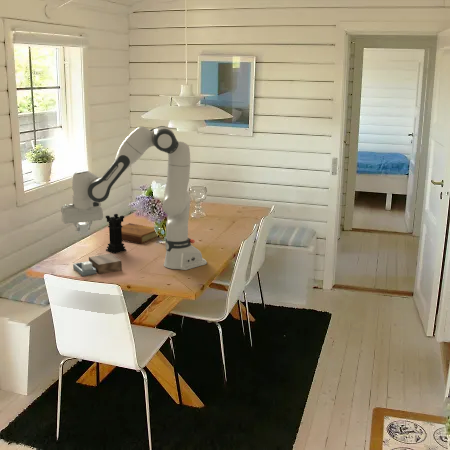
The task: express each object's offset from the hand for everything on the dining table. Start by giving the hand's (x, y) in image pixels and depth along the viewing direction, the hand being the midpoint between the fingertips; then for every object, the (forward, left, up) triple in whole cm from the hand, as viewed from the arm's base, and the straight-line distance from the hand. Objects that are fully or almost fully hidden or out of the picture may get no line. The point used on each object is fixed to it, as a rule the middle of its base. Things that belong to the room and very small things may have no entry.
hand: (82, 230), depth 293 cm
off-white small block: (+1, +7, -20) cm, 21 cm away
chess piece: (-25, -20, -21) cm, 38 cm away
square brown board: (-9, +5, -20) cm, 23 cm away
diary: (-45, -39, -21) cm, 64 cm away
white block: (0, 0, -2) cm, 2 cm away
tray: (+1, +4, -20) cm, 21 cm away
